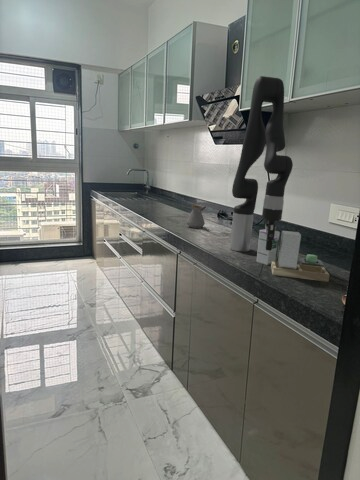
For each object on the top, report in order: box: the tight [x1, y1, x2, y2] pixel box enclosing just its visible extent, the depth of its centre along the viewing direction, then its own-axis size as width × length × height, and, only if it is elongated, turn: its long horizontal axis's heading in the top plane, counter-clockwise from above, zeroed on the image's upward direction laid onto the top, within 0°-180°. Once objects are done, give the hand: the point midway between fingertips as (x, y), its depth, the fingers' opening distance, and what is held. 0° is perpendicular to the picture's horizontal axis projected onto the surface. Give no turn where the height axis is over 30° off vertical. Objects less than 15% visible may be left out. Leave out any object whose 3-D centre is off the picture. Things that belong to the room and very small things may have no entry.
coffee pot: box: [185, 205, 208, 229], centre depth 212 cm, size 21×12×15 cm, turn 16°
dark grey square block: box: [297, 256, 325, 268], centre depth 139 cm, size 8×8×4 cm
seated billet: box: [277, 230, 302, 270], centre depth 129 cm, size 6×6×15 cm
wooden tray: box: [270, 261, 330, 282], centre depth 129 cm, size 10×19×4 cm, turn 79°
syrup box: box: [255, 229, 281, 266], centre depth 142 cm, size 6×6×14 cm
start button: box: [305, 253, 318, 263], centre depth 139 cm, size 4×4×4 cm
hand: (267, 247), depth 142 cm, fingers closed on syrup box, 8 cm apart
